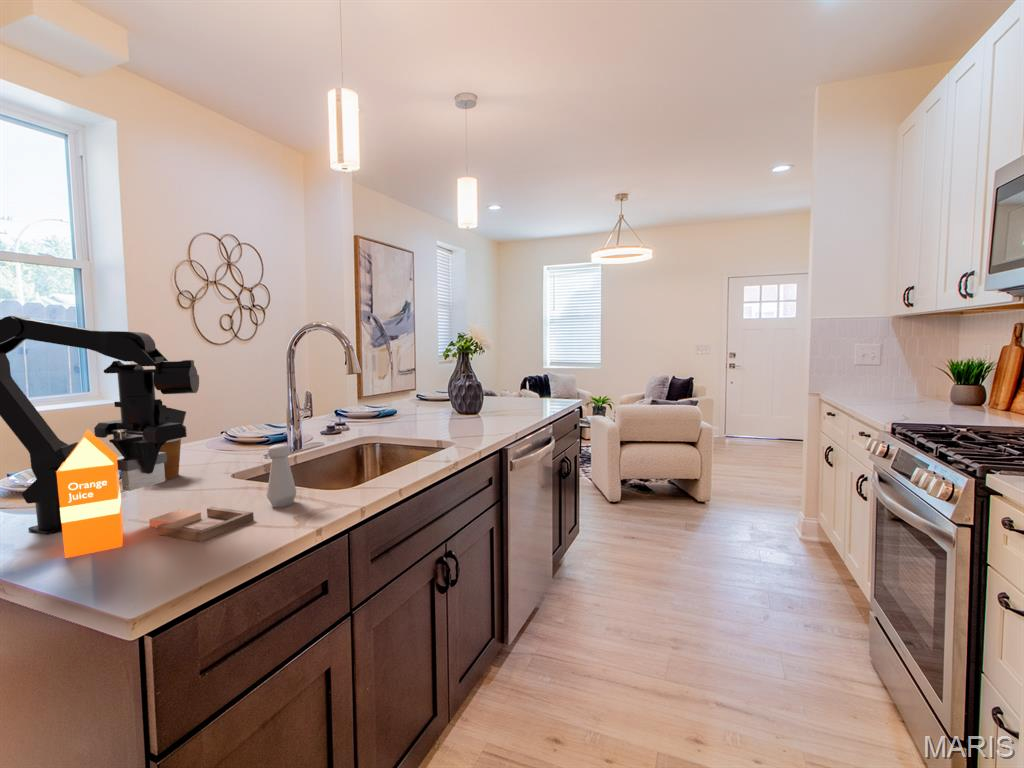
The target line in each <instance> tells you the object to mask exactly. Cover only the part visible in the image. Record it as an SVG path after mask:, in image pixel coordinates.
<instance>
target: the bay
mask: <svg viewBox="0 0 1024 768" xmlns="http://www.w3.org/2000/svg"><path fill="white" fill-rule="evenodd" d="M206 515H207V517H209V518H210V517H211V518H217V519H224V521H221V522H219V523H216V524H213V525H211V526H208V527H206V528H204V529H199V528H192V527H186V526H174V525H168V524H162V525H159V526H157V527H156V530H157V535H159V536H164V537H171V538H174V539H175V538H177V539H181V540H189V541H192V542H193V541H194V542H200V543H202V542H204V541H208V540H210V539H212V538H215V537H217V536H220V535H222V534H224V533H226V532H228V531H231V530H233V529H237V528H238V527H240V526H243V525H246V524H248V523H251V522H253V521H254V517H255V516H254V512H252V511H245V510H238V509H232V508H225V507H217V506H210V507H207V508H206Z"/></svg>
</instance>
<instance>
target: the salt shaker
mask: <svg viewBox="0 0 1024 768" xmlns="http://www.w3.org/2000/svg"><path fill="white" fill-rule="evenodd" d="M267 455H268V457H269V458H271V465H270V471H269V477H268V478H269V479H268V483H267V491H266V499H268V501H269V503H270V504H271V506H272V508H284V507H289V506H291V505H292V504H294V501H295V498H296V495H297V488H296V484H295V480H294V477H293V472H292V470H291V469H292V468H291V465H290V461H289V457H288V456H290V455H291V447H290V446H289V445H288V444H285V443H278V444H277V443H276V444H274V445H271V446H270V447H268V449H267Z"/></svg>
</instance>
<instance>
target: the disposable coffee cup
mask: <svg viewBox="0 0 1024 768" xmlns="http://www.w3.org/2000/svg"><path fill="white" fill-rule="evenodd" d="M182 439H183V438H178V439H173V440H169V441H167V442H166V443H165V444H164V445H162V447H161V449H160V451H159V452H165V453H166V455H167V462H165V463H164V470H165V481H166V480H171V479H175V478H177V477H179V475H180V474H179V473H180V459H181V458H180V457H181V445H182V444H181V441H182Z"/></svg>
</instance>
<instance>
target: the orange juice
mask: <svg viewBox="0 0 1024 768" xmlns="http://www.w3.org/2000/svg"><path fill="white" fill-rule="evenodd" d="M78 444H79V445H78ZM78 444H77V445H78V446H76V447H75V448H76V449H75V448H74V449H75V450H73V451H72V452H73V453H72V452H71V453H72V454H70V455H69V456H68V457H69V458H67V459H66V460H65V461H66V462H63V463H62V465H61V466H60V468H59V469H58V470H57V472H56V473H57V483H58V492H59V502H60V516H61V523H62V530H61V531H62V540H63V550H64V558H65V559H67V558H72V557H78V556H83V555H86V554H92V553H97V552H102V551H107V550H111V549H117V548H122V547H123V541H124V533H125V531H124V523H123V521H124V520H123V511H122V495H121V486H120V474H119V470H118V464H117V460H118V457H119V456H118V455H117V454H116V453H115V452H113V450H111V449H110V447H108V446H107V445H106V444H105V443H104V442H102V441H101V440H100V439H99V437H96V436H95V433H92V432H91V430H90V429H86V431H85V433H84V434H83V435H82V438H81V439H80V440H79V442H78Z"/></svg>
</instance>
